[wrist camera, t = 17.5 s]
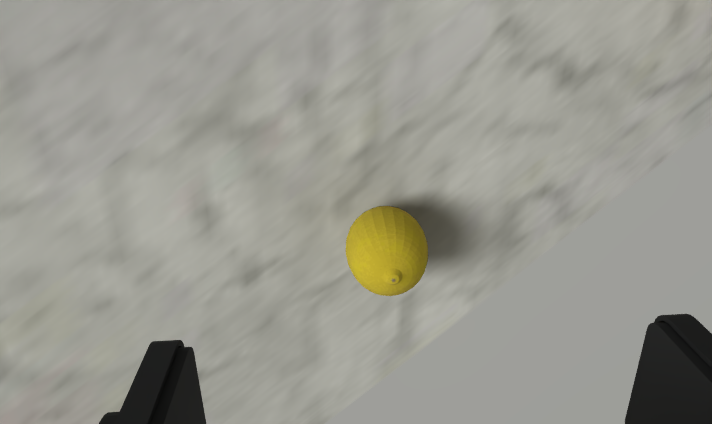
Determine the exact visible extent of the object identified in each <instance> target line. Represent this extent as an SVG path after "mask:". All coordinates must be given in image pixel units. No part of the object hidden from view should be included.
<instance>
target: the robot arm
mask: <svg viewBox="0 0 712 424" xmlns="http://www.w3.org/2000/svg"><path fill="white" fill-rule="evenodd" d="M99 424H206V420H205V414H204V408H203V402H202V397H201V391H200V385H199V379H198V373H197V368H196V362H195V356H194V351H193V348H192V347H184V344H183V342H182V341H181V340H173V341H153V342H151V344H150V345H149V347H148V349H147V352H146V354H145V356H144V358H143V361H142V363H141V365H140V367H139V370H138V372H137V374H136V376H135V379H134V381H133V383H132V385H131V388H130V390H129V392H128V394H127V397H126V399H125V401H124V403H123V406H122V408H121V410H120V412H110V413H107V414H105V415H104V416H103V418H102V419H101V421H100V422H99ZM625 424H712V334H711V333H710V332H709V331H708V330H707V329H706V328H705V327H704V326H703V325H702V324H701V323H700V322H699V321H697V320H696V319H695V318H694V317H693V316H691V315H689V314H677V315H661V316H658V317H657V318H656V319H655V322H654V323H651V324H650V325H649V326H648V328H647V331H646V335H645V340H644V344H643V348H642V352H641V357H640V360H639V365H638V369H637V373H636V377H635V381H634V385H633V389H632V393H631V398H630V402H629V406H628V410H627V414H626V418H625Z"/></svg>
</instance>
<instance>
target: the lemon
mask: <svg viewBox="0 0 712 424" xmlns="http://www.w3.org/2000/svg"><path fill="white" fill-rule="evenodd" d="M346 256H347V260H348V264H349V267H350V269H351V271H352V273H353V274H354V276H355V278H356V279H357V281H358V282H359V283H360V284H361V285H362V286H363V287H364V288H366V289H368V290H369V291H371V292H373V293H376V294H379V295H385V296H393V295H399V294H401V293H404V292H406V291H408V290H410V289H411V288H413V287H414V286H415V285H416V284H417V283H418V282H419V280H420V279H421V277H422V275H423V274H424V272H425V268H426V265H427V261H428V245H427V241H426V238H425V235H424V232H423V230H422V228H421V227H420V225H419V224H418V222H417V221H416V220H415V219H414V218H413V217H412V216H411V215H410V214H408V213H407V212H405V211H403V210H401V209H399V208H395V207H391V206H379V207H376V208H372V209H370V210H368V211H366V212H364V213H363V214H362V215H361V216H359V217H358V218H357V219H356V220H355V222H354V223H353V225H352V226H351V228H350V231H349V233H348V236H347V240H346Z"/></svg>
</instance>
